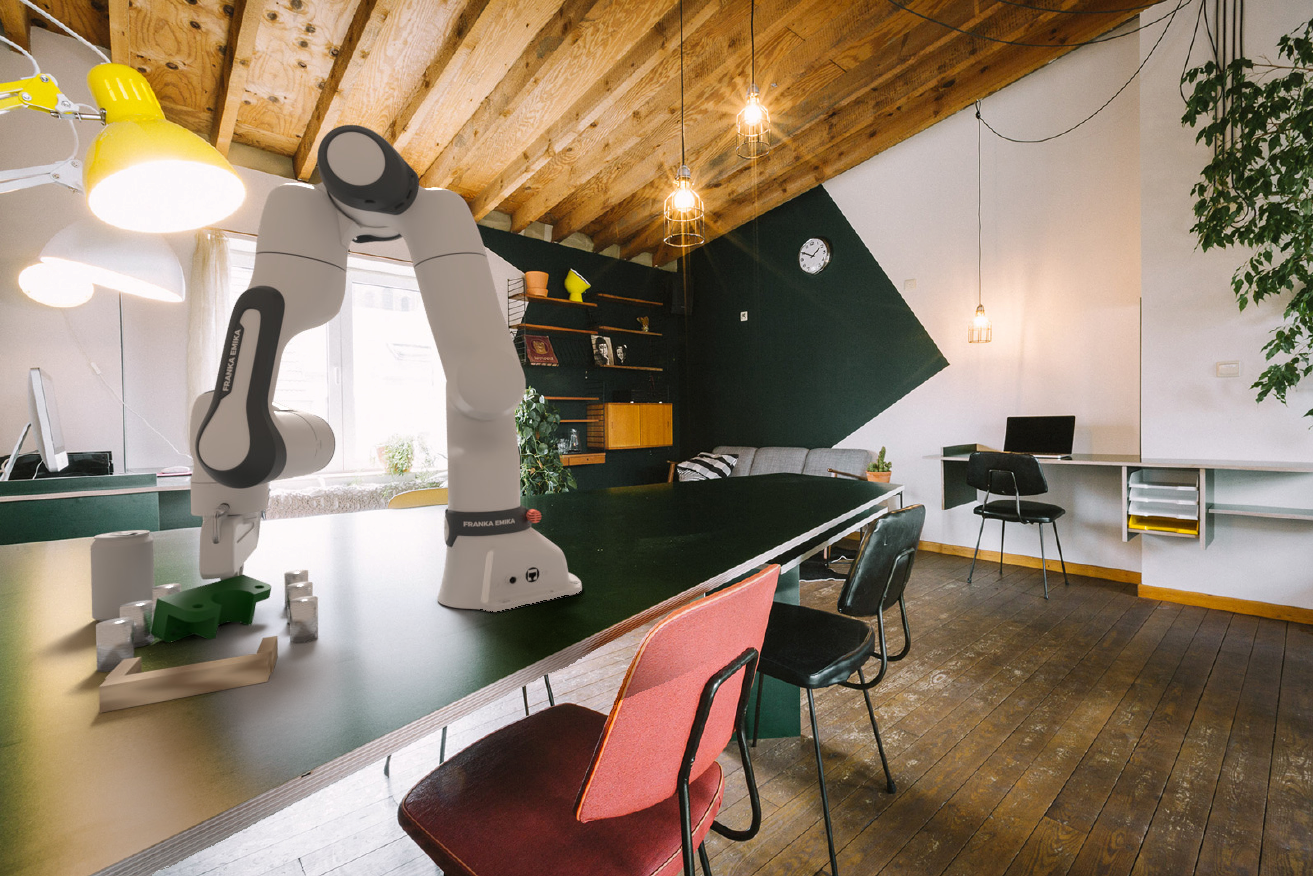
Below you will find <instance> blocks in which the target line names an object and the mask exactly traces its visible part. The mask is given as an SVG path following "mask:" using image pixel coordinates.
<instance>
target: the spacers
mask: <svg viewBox="0 0 1313 876" xmlns="http://www.w3.org/2000/svg"><path fill="white" fill-rule="evenodd" d="M283 575H284V608H285V609H286V612H287V613H286V614H287V615H286V619H287V620H286V621H287V622H286V623H287V624H288V623H289V642H290V643H291V644H303V643H307V642H308V643H309V642H311V641H314V640H316V639H317V638H319V618H318V617H319V608H318V607H319V605H318V604H319V603H318V602H319V600H318V599H319V598H318V596H315V595H313V593H314V592H313V591H314V589H313V585H314V584H313V582H312V581H309V570H308V569H297V570H290V571H286V572H285V573H284V574H283ZM178 592H182V584H181V583H166V584H161V585H157V586H154V587H153V588H152V601H150V600H145V601H136V602H131V603H127V604H124V605H121V606H120V618H116V619H111V620H107V621H103V622H100V621H99V622H98V623H96V625H95V634H96V635H95V636H96V637H95V640H96V641H95V642H96V671H97V672H101V673H102V672H103V673H104V672H105V673H106V672H112V671H113V670H114V669H115V668H116V667H117V666H118V665H119V664H120V663H121V662H122V661H123V660H124V659H130V658H135V649H137V647H138V648H142V647H146V646H148V645H151V644H152V642H153V641H155V637H154V636H153V635H152V634H151V629H152V623H153V618H154V612H155V607H156V601H157V598H160V597H164V596H167V595H171V594H175V593H178ZM153 643H154V642H153ZM141 646H142V647H141Z"/></svg>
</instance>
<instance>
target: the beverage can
mask: <svg viewBox="0 0 1313 876" xmlns="http://www.w3.org/2000/svg"><path fill="white" fill-rule="evenodd" d="M150 533H151V532H150V530H149V529H148V530H147V529H137V530H136V529H133V530H122V531H112V532H107V533H106V532H105V533H101V534H97V535H95V536H94V537H93V538H94V539H93V540H94V541H93V542H92V544H90V579H91V580H90V583H91V586H90V587H91V618H93V619H94V620H96V621H99V623H100V622H103V621H107V620H111V619H116V618H120V606H121V605H124V604H127V603H131V602H136V601H145V600H150V601H152V588H153V587H155V556H154V555H155V554H154V553H155V551H154V538H153V537H152V536H151V535H150Z"/></svg>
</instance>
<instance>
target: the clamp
mask: <svg viewBox="0 0 1313 876" xmlns="http://www.w3.org/2000/svg"><path fill="white" fill-rule="evenodd" d="M271 592H272V585H271V584H269V583H266V582H264V581H262V580H258V579H256V578H253V577H250V576H248V575H245V574H243V575H239V576H236V577H232V578H228V579H225V580H218V581H214V582H211V583H208V584H204V585H203V584H202V585H201V586H197V587H193V588H189V589H186V590H185V589H184V590H181V592H178V593H175V594H171V595H167V596H164V597H160V598H157V601H156V607H155V612H154V618H153V623H152V629H151V634H152V635H153V636H154V638H156V639H159V640H162V641H164V642H166V643H169V642H170V643H172V642H171V641H173V642H175V640H176V641H178V640H182V639H183V638H186V637H190V636H191V635H192V636H193V635H197V636H200V637H203V638H205V639H207V640H213V639H216V637H217V630H218V626H220V625H222V624H223V625H224V624H225V623H228V622H229V623H239V624H240V623H241V624H244V625H246V626H250V625H252V624H253V620H254V615H255V611H256V606H257V603H259V602H262V601H265V600H267V599H270V596H271ZM249 624H250V625H249Z"/></svg>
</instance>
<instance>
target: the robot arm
mask: <svg viewBox="0 0 1313 876" xmlns="http://www.w3.org/2000/svg"><path fill="white" fill-rule="evenodd" d="M316 156H317V157H316V158H317V159H316V160H317V169H318V172H319V173H318V174H319V177H320V179H321V182H320V183H317V184H312V185H309V184H305V183H297V182H295V183H293V182H292V183H291V182H290V183H282V184H280V185H277V186H275V187H274V188H272V189H271V190H270V192H269V193H268V195H267V198H266V200H265V204H264V206H263V209H262V213H261V217H260V221H259V227H258V231H257V238H256V244H255V246H256V247H255V258H254V266H253V272H252V275H251V279H250V282H249V283H248V287H247V289H246V290H244V291H243V292H242V293H241V294H240V295H239V297H238V298H237V300H236V302H235V303H234V307H233V310H232V312H231V316H230V318H229V323H228V327H227V331H226V335H225V340H224V345H223V348H222V354H221V358H220V362H219V367H218V371H217V377H216V382H215V386H214V389H211V390H208V391H205V392H203V393H201V394H200V395H198V396H197V397H196V399H195V401H194V403H193V406H192V408H191V415H190V423H189V451H190V455H191V458H192V461H193V471H192V474H191V477H190V514H191V516H195V517H202V524H201V526H200V527H201V528H200V535H199V556H198V557H199V561H198V562H199V563H198V564H199V569H198V570H199V575H200V578H201V579H202V580H215V579H219V581H221V580H225V579H228V578H232V577H236V576H239V575H244V569H245V562H246V561H247V560H248V559H249V558H250V557H251V555H252V554H253V553H254V551H255V550H256V549H257V547H258V543H259V538H260V529H261V517H262V512H263V511H266V510H268V509H269V497H268V496H269V487H268V485H269V483H270V482H275V481H280V480H288V479H293V478H297V477H304V476H307V475H311V474H313V473H316V472H320V471H322V470H323V469H324V468H326V467H327V466H328V465H329V464H330V462H331V461H332V458H333V457H334V454H335V451H336V437H335V434H334V430H333V429H332V427H331V426H330V425H329V423H328V422H327V421H326V420H325V419H323V418H322V417H320V416H318V415H315V414H312V413H309V412H304V411H301V410H298V409H294V408H291V407H288V406H285V405H283V404H280V403H278V402H276V401H274V398H275V395H276V394H275V392H276V388H277V383H278V377H279V374H280V373H279V372H280V367H281V361H282V358H283V357H282V356H283V353H284V350H285V347H286V346H287V345H288V343H289V342H290V341H291V340H293V338H295V336H297V335H299V334H300V333H303V332H305V331H308V330H310V329H311V330H312V329H314V328H318V327H321V326H324V325H325V324H327V323H329V322H330V321H331V320H333V319H334V318H335V317H336V316H337V315H338V314H339V313H340V311H341V308H342V307H343V306H342V305H343V303H344V299H345V294H346V289H347V288H346V286H347V285H346V284H347V271H348V255H349V248H350V244H351V243H352V242H354V243H356V244H367V243H372V242H373V243H375V242H392V241H396V240H399V239H402V238H403V240H404V241H405V243H406V246H407V248H408V251H409V256H410V258H411V262H412V266H413V271H414V274H415V278H416V281H417V284H418V288H419V292H420V295H421V300H422V303H423V307H424V311H425V315H426V318H427V321H428V324H429V327H430V330H431V333H432V337H433V339H434V343H435V345H436V349H437V353H438V356H439V358H440V362H441V363H440V364H441V366H442V369H443V372H444V376H445V379H446V381H445V410H446V411H445V412H446V413H445V414H446V415H445V417H446V443H447V445H446V447H447V449H446V452H447V454H446V455H447V508H445V511H444V517H443V519H444V520H443V522H444V523H443V524H444V525H443V529H444V530H443V531H444V532H443V533H444V541H445V545H446V553H445V555H446V556H445V561H444V569H443V576H442V580H441V583H440V588H439V592H438V595H437V597H436V600H437V601H438V603H440V604H442V605H444V606H446V607H450V608H456V609H466V610H468V609H469V610H470V609H471V610H480V609H483V610H482V611H485V610H486V611H485V612H490V611H491V612H492V611H493V612H492V613H498V612H497V611H500V612H503V611H502V610H504V611H506V610H505V609H509V610H512V609H511V608H513V609H516V608H515V607H517V608H519V607H518V606H521V605H525V604H530V605H533V604H532V603H534V604H537V603H536V602H539V603H541V602H540V601H543V600H547V601H551V600H550V599H552V600H555V599H554V598H556V599H558V598H557V597H560V598H562V597H561V596H564V595H569V596H573V595H577V594H580V593H581V592H582V590H583V585H582V581H581V579H580V578H578V576H577V575H575V574H573V573H571V572H569V569H568V563H567V559H566V556H565V554H564V552H563V550H562V548H560V547H559V546H558V545H557V544H555V543H554V542H552V541H551V540H550V539H548V538H547V537H545V536H544V535H543V534H541V533H540V532H539V531H537V530H536V529H534V528H533V527H532V525H533V524H537V523H539V522H540V520H542V517H543V516H542V513H541V512H540V511H539V510H537V509H535V508H531V509H530V508H527V507H526V506H523V505H522V504H521V456H520V452H519V443H518V432H517V425H516V424H517V423H516V409H517V408H518V407H519V406H520V405H521V403H522V401H523V398H524V396H525V394H526V393H525V392H526V377H525V373H524V369H523V367H522V363H521V361H520V358H519V355H518V352H517V349H516V346H515V343H514V340H513V337H512V334H511V332H510V330H509V327H508V324H507V322H506V319H505V317H504V314H503V311H502V309H501V305H500V301H499V297H498V294H497V290H496V287H495V283H494V279H493V275H492V271H491V267H490V266H491V265H490V264H489V259H488V255H487V252H486V248H485V245H484V242H483V238H482V236H481V233H480V229H479V228H478V226H477V223H476V221H475V218H474V216H473V214H472V211H471V209H470V207H469V205H468V204H467V202H466V201H465V199H464V198H463V197H462V196H461V195H460V194H458V193H457V192H456V191H455V192H454V191H453V190H450V189H446V188H441V187H431V188H429V187H428V188H425V187H423V186H421V185H420V178H419V175H418V172H416V171H415V170H414V168H413V167H412V166H411V165H410V164H409V163H408V162H407V161H406V160H405V159H404V158H403V157H402V155H401V154H400V153H399V152H398V151H397V149H395V148H394V146H393V145H392V144H391V143H390V142H389V141H388V140H386V139H385V138H384V137H383V136H382V135H380V134H379V133H378V132H376V131H374V130H373V129H370V128H368V127H365V126H361V125H357V124H356V125H355V124H346V125H340V126H337V127H335V128H333V129H331V130H330V131H329V132H328V133H326V134H325V135H324V136H323V138H322V140H321V141H320V144H319V147H318V150H317V155H316ZM580 591H581V592H580ZM579 592H580V593H579ZM576 593H577V594H576ZM543 602H544V601H543ZM521 607H522V606H521Z"/></svg>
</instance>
